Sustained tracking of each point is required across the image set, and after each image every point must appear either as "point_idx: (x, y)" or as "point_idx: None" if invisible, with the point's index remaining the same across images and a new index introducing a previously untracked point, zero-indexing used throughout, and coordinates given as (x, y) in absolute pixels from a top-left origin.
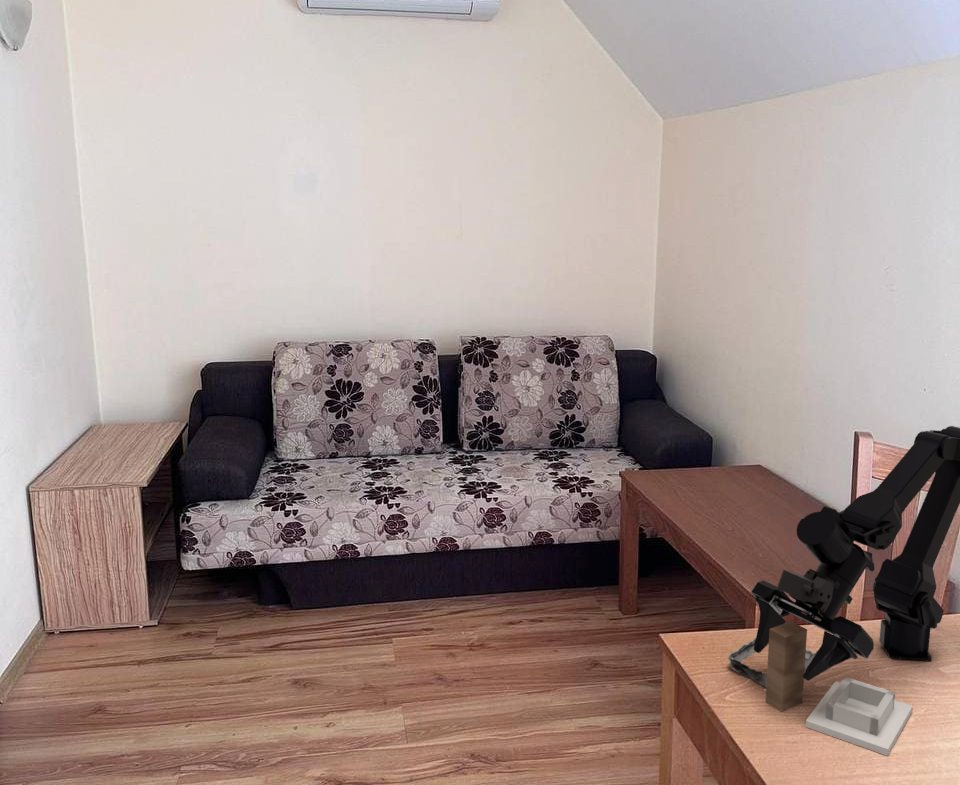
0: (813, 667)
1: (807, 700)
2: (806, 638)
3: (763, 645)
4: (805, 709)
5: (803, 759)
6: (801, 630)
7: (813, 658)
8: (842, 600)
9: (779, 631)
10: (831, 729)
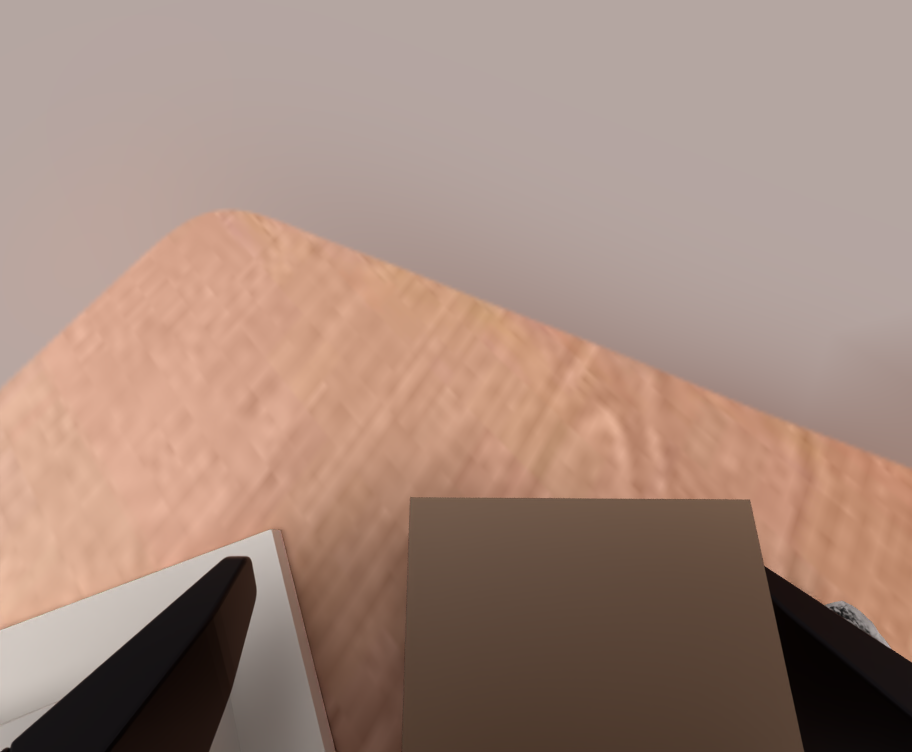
0: (132, 640)
1: None
2: None
3: None
4: (367, 654)
5: (166, 350)
6: None
7: (124, 719)
8: None
9: (611, 572)
10: (147, 575)
